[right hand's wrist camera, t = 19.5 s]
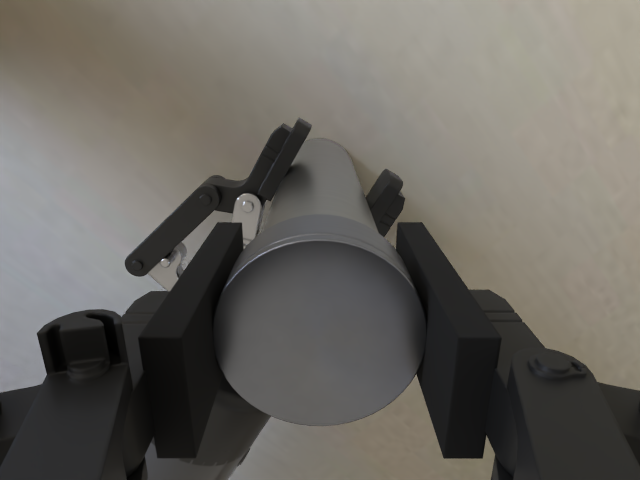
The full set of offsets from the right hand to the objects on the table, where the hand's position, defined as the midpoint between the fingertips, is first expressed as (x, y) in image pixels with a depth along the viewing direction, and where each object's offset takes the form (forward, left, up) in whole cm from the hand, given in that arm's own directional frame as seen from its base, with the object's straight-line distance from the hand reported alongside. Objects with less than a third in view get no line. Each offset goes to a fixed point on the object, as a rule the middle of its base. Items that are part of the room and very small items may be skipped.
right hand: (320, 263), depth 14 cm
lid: (0, 0, +4) cm, 4 cm away
